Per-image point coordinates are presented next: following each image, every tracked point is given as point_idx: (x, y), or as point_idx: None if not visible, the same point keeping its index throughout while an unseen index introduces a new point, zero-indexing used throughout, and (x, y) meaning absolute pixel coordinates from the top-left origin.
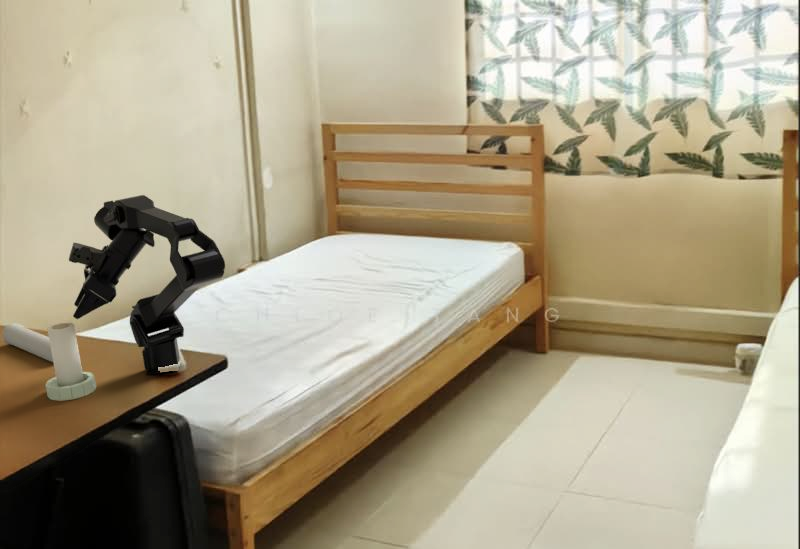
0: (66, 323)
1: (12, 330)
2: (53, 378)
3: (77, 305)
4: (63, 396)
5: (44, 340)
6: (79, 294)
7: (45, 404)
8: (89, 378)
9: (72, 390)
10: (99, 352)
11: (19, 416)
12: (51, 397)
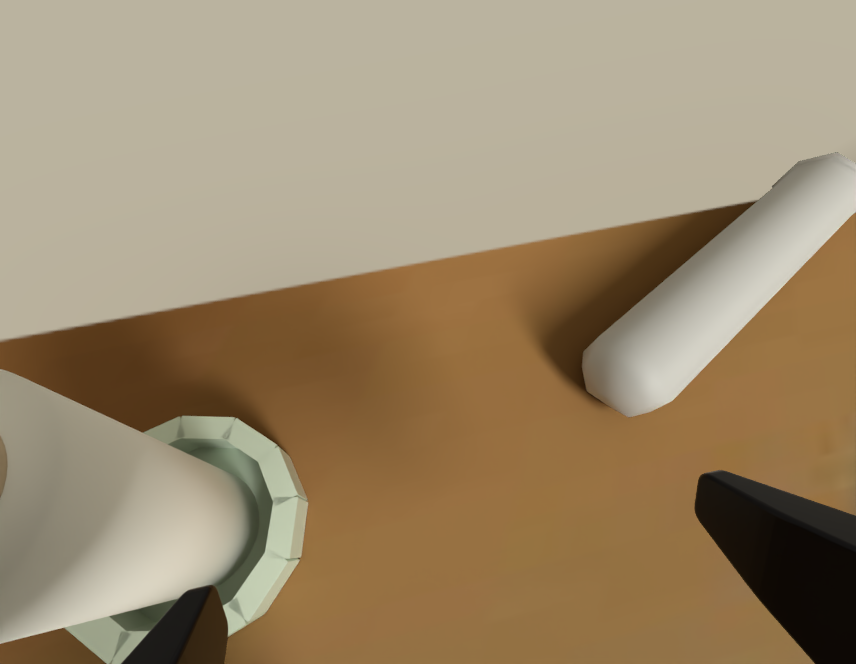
0: (2, 544)
1: (801, 180)
2: (249, 435)
3: (706, 508)
4: None
5: (677, 304)
6: (850, 553)
7: None
8: (137, 644)
9: None
10: (704, 539)
11: (32, 371)
12: None
